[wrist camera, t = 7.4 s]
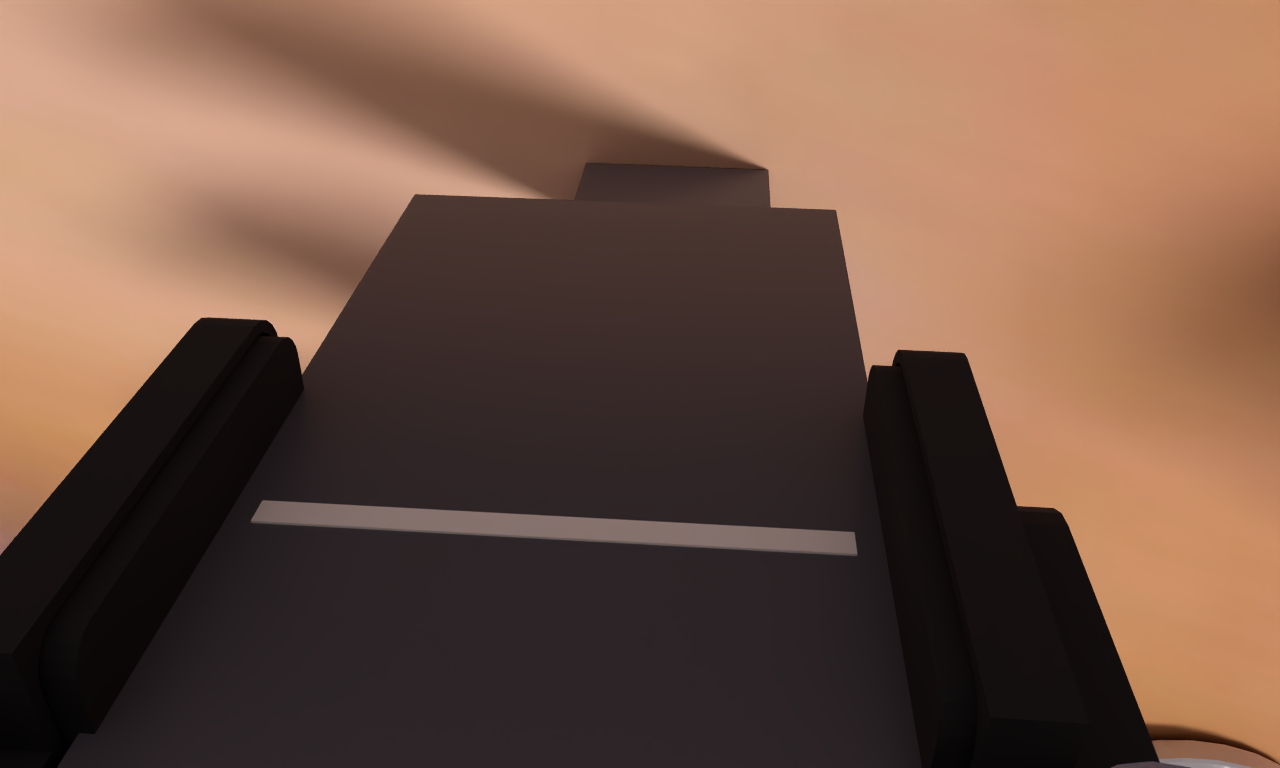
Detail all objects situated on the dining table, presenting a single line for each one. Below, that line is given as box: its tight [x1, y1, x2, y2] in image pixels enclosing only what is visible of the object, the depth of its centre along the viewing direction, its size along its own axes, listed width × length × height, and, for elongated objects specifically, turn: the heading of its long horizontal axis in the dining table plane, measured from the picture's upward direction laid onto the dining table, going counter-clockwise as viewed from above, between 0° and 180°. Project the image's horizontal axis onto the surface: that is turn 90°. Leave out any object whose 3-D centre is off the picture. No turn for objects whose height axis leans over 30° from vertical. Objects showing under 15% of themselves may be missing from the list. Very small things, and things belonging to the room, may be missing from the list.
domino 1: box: [57, 194, 922, 768], centre depth 9 cm, size 2×5×12 cm, turn 89°
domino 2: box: [575, 163, 770, 208], centre depth 26 cm, size 2×5×12 cm, turn 89°
